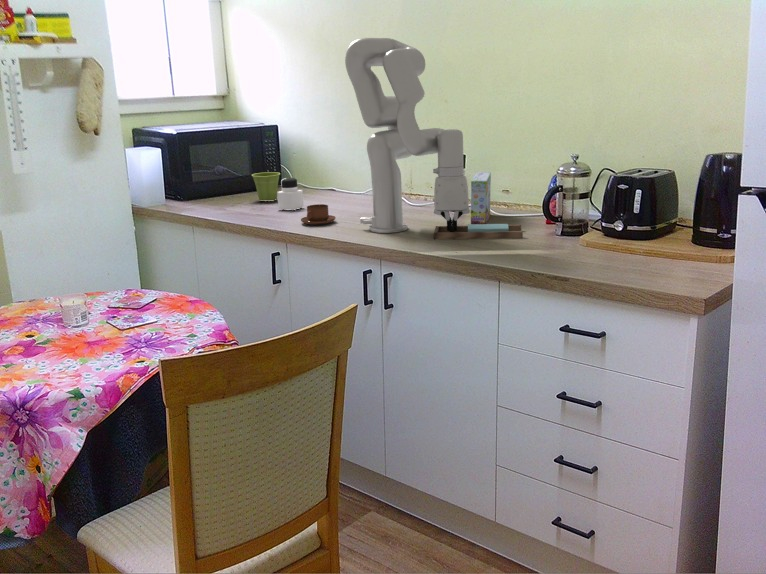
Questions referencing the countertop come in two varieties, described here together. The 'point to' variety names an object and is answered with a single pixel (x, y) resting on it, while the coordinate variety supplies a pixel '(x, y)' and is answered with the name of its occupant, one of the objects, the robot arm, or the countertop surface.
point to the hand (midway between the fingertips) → (452, 232)
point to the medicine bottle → (290, 195)
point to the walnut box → (476, 233)
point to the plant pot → (266, 185)
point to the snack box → (480, 198)
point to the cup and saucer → (318, 215)
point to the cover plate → (487, 227)
